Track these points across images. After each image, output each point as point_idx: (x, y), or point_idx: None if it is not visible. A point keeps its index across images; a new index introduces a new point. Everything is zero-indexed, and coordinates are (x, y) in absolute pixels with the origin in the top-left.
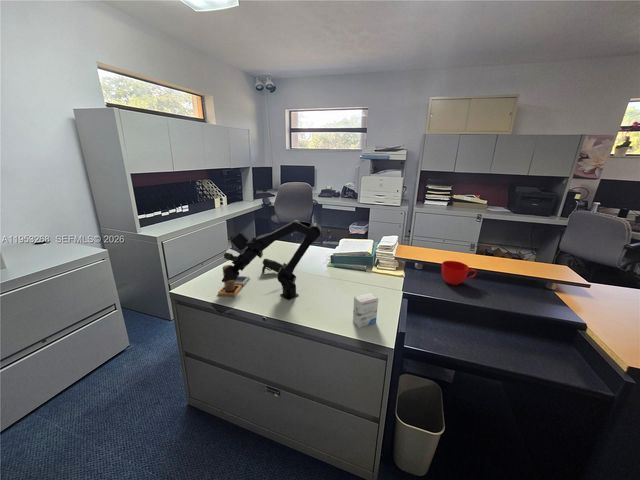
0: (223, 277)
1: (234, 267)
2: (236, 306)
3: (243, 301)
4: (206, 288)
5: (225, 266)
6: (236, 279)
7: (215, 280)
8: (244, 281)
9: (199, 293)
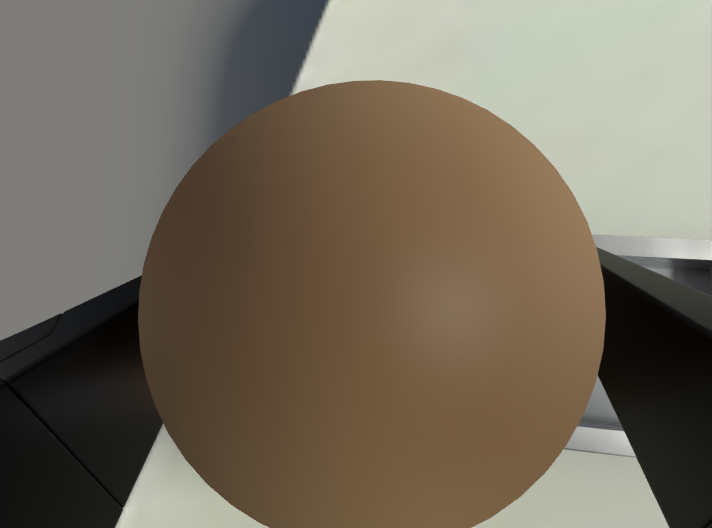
0: (100, 295)
1: (699, 386)
2: (154, 469)
3: (238, 516)
4: (458, 66)
5: (391, 164)
6: (693, 288)
7: (639, 65)
8: (608, 448)
9: (364, 56)
